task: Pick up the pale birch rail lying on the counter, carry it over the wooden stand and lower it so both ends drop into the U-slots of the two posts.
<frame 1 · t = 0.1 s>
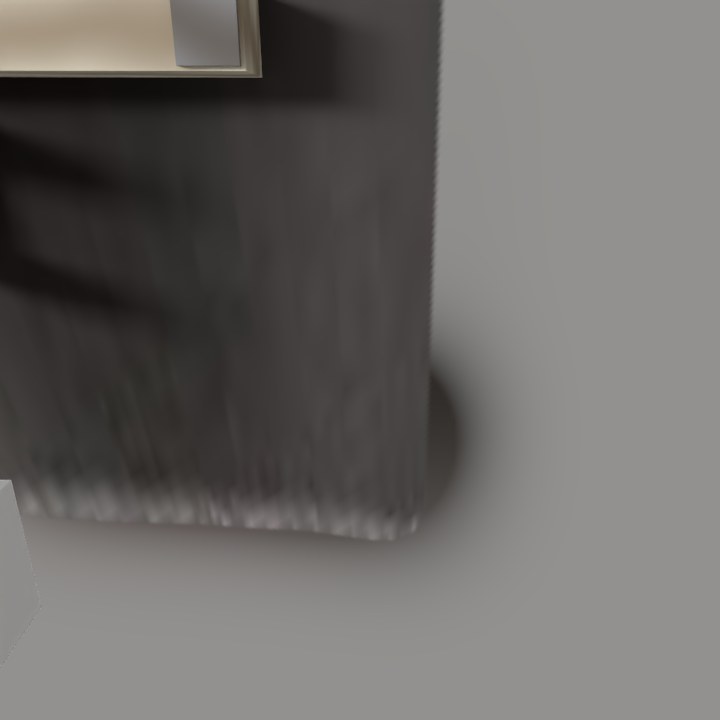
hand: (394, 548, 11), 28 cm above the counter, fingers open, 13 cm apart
rail: (76, 36, 33), on the counter
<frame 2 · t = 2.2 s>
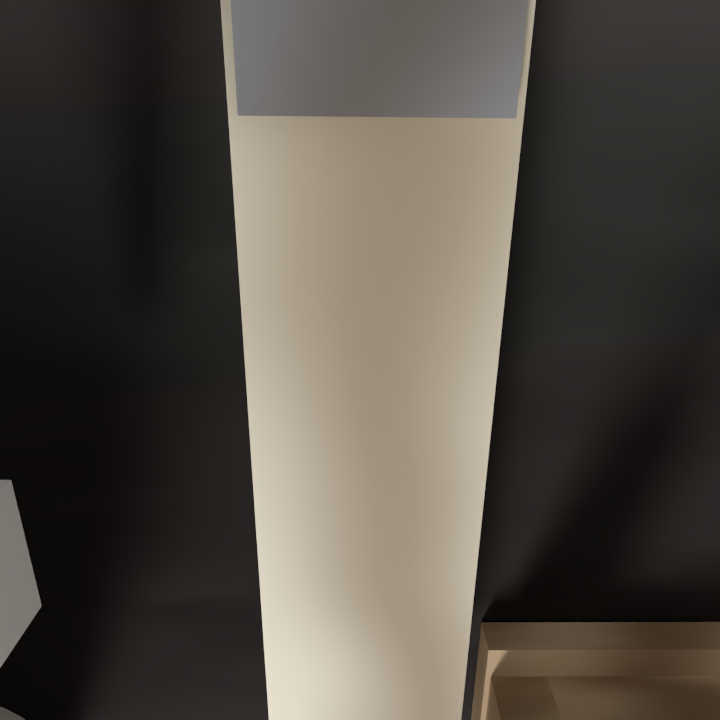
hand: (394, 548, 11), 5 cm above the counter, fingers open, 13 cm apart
rail: (364, 403, 15), on the counter
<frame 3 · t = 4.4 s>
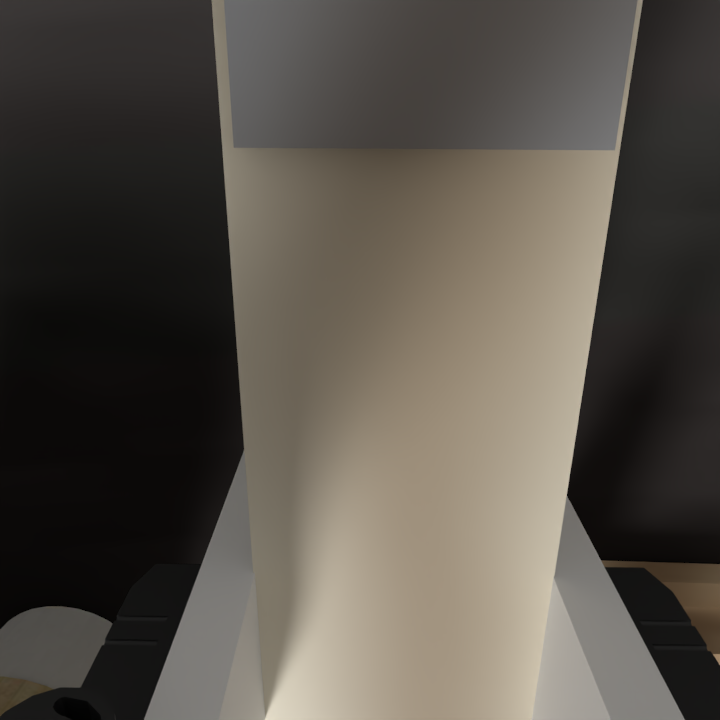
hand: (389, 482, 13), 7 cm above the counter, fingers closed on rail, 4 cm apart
rail: (389, 468, 13), point 6 cm above the counter, touching gripper
coffee cup: (73, 662, 24), on the counter
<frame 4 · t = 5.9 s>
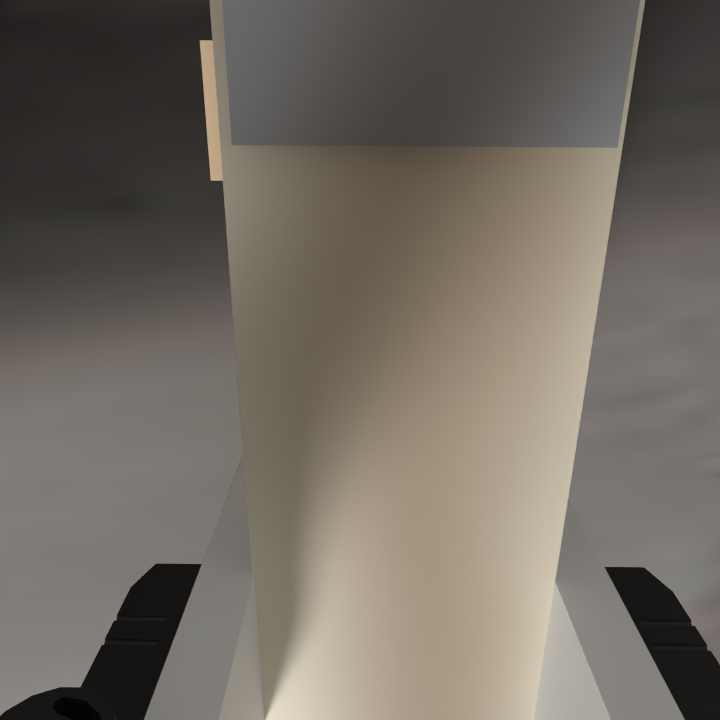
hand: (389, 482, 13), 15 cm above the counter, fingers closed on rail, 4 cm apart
wooden stand: (377, 299, 27), on the counter
rail: (389, 468, 13), point 14 cm above the counter, touching gripper
when the fingers open (3 cm above the counter, at t = 8.1 s): rail stays where it is, resting on wooden stand.
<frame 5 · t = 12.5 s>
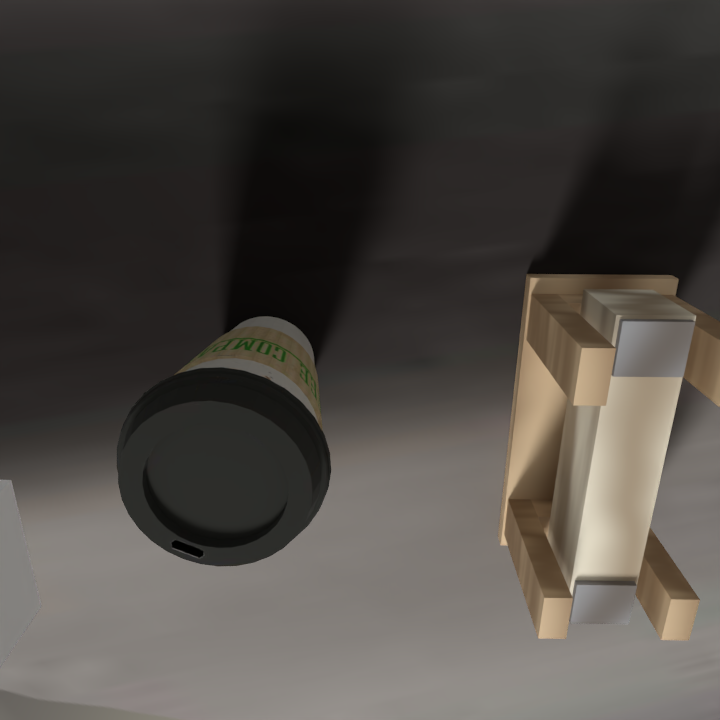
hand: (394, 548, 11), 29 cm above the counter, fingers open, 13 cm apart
wooden stand: (576, 417, 42), on the counter
rail: (592, 441, 39), point 3 cm above the counter, touching wooden stand
coffee cup: (268, 359, 41), on the counter
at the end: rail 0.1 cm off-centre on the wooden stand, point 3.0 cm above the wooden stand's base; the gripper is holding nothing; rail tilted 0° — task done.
